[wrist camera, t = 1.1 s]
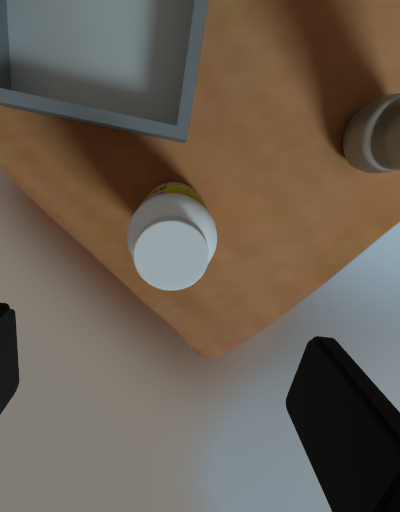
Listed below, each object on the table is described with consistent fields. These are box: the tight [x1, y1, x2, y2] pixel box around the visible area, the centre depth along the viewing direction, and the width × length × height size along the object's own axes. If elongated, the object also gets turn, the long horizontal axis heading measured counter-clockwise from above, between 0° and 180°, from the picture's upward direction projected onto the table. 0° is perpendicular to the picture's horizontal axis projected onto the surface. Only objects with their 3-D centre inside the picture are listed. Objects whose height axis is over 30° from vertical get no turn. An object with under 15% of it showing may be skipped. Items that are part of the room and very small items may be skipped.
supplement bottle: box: [127, 182, 217, 290], centre depth 22 cm, size 7×7×13 cm
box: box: [0, 0, 208, 143], centre depth 19 cm, size 16×16×5 cm
